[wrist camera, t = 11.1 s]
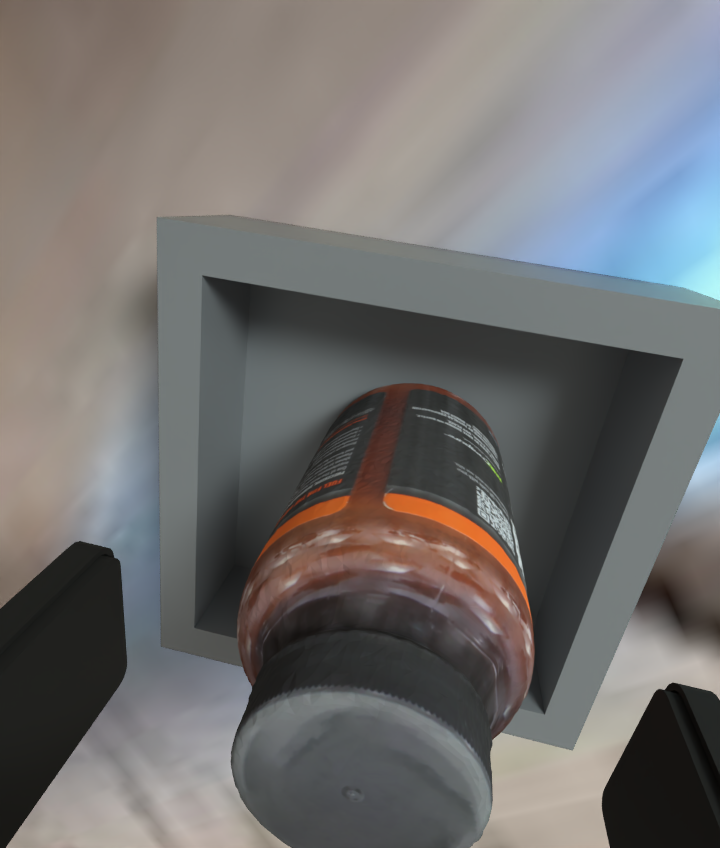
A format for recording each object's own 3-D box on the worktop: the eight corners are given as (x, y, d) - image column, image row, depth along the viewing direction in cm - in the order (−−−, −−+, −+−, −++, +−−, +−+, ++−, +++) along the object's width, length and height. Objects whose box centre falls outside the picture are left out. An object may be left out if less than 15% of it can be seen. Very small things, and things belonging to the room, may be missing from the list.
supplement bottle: (307, 501, 20) (134, 832, 9) (355, 350, 17) (195, 569, 7) (462, 559, 19) (465, 965, 9) (533, 414, 17) (649, 742, 7)
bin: (229, 214, 17) (156, 217, 13) (683, 287, 16) (761, 315, 12) (215, 567, 23) (160, 646, 19) (550, 645, 21) (572, 750, 17)
